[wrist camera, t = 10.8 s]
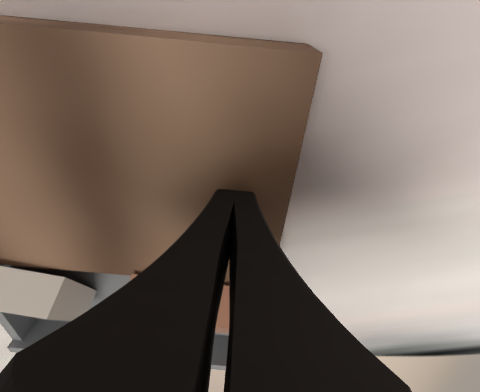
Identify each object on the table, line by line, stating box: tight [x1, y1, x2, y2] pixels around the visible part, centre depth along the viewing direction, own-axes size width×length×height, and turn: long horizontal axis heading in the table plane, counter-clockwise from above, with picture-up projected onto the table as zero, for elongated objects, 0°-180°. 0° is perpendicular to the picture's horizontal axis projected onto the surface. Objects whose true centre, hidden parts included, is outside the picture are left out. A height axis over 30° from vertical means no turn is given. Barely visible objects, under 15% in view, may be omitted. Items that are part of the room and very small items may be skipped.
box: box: [0, 264, 229, 370], centre depth 16 cm, size 16×9×2 cm, turn 85°
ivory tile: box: [0, 266, 97, 321], centre depth 14 cm, size 5×5×2 cm
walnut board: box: [0, 15, 322, 284], centre depth 11 cm, size 16×10×2 cm, turn 85°
